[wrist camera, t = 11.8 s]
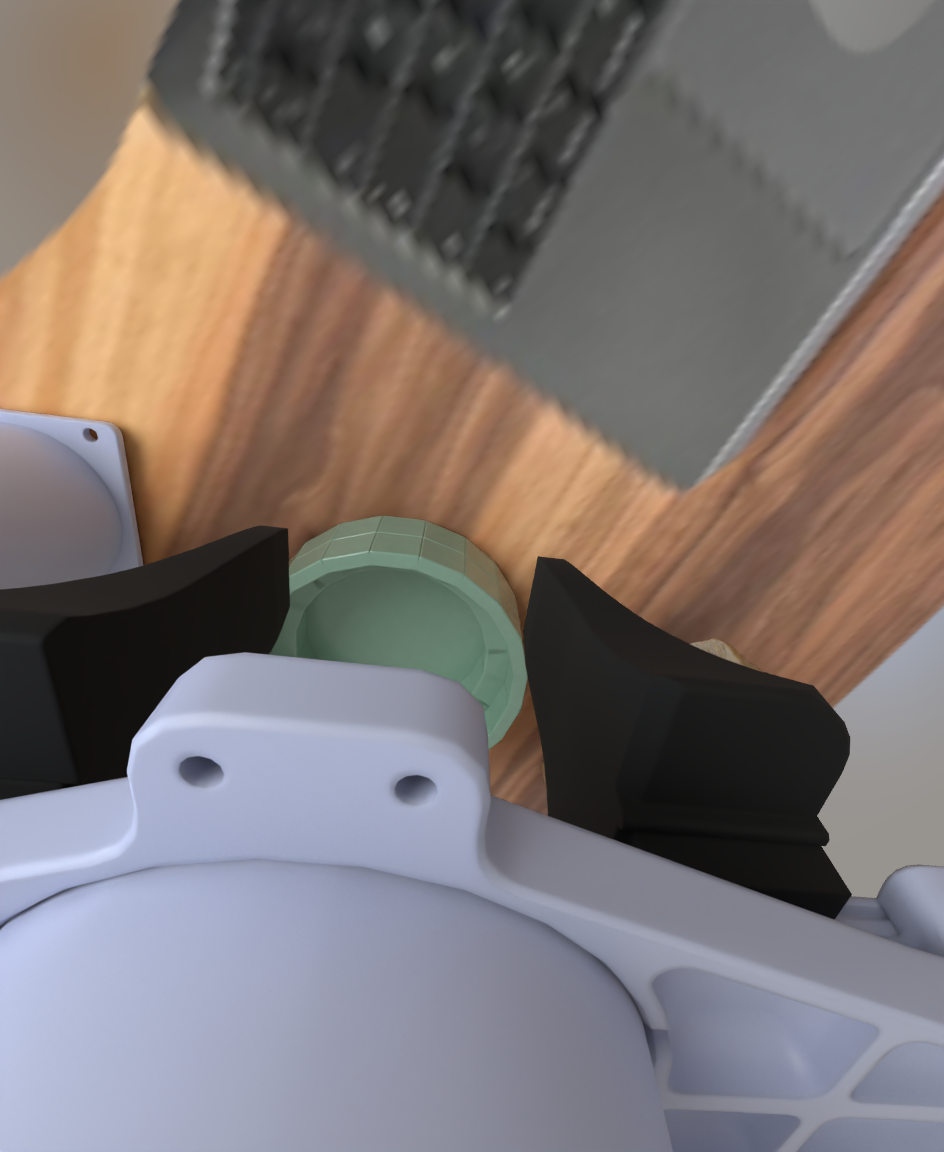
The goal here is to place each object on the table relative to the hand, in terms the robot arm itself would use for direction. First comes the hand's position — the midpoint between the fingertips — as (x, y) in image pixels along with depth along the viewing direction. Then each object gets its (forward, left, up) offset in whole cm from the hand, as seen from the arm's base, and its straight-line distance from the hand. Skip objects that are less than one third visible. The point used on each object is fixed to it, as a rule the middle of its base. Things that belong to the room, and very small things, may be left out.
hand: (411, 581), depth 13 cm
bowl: (-1, -8, -10) cm, 13 cm away
